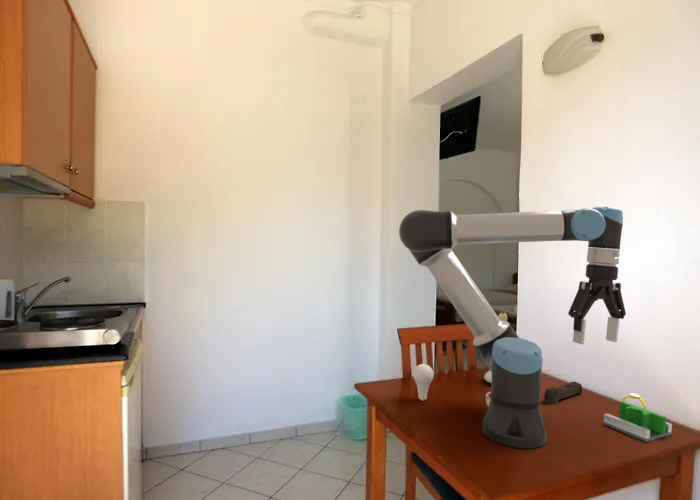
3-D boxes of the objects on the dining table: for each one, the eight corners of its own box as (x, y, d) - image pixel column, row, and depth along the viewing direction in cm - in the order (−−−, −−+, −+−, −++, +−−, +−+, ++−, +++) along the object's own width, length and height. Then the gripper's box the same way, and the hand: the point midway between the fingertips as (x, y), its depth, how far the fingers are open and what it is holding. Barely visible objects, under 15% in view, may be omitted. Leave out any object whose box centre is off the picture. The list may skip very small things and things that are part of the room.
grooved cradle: (645, 442, 109) (646, 431, 109) (603, 424, 119) (604, 414, 119) (671, 434, 114) (671, 423, 114) (628, 418, 124) (629, 408, 123)
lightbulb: (411, 402, 130) (412, 366, 130) (413, 395, 136) (414, 360, 136) (432, 405, 129) (433, 368, 128) (433, 398, 135) (434, 362, 134)
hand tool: (570, 391, 145) (570, 378, 144) (582, 395, 141) (582, 381, 141) (535, 402, 134) (536, 387, 134) (548, 407, 131) (548, 391, 131)
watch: (646, 417, 125) (649, 397, 125) (643, 420, 123) (646, 400, 123) (622, 409, 129) (625, 390, 129) (619, 412, 128) (622, 392, 127)
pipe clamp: (613, 419, 120) (614, 403, 120) (622, 417, 122) (622, 401, 122) (656, 436, 110) (657, 418, 110) (665, 434, 112) (666, 416, 112)
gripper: (583, 264, 110) (576, 347, 111) (644, 267, 121) (637, 343, 121) (558, 261, 117) (551, 340, 117) (618, 264, 127) (611, 336, 128)
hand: (595, 342), depth 119 cm, fingers open, 13 cm apart
